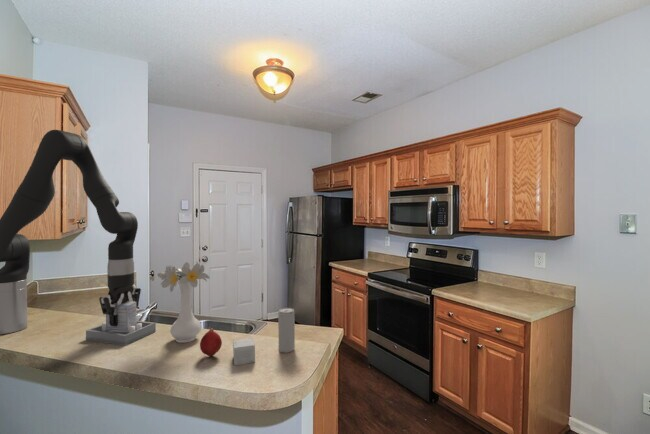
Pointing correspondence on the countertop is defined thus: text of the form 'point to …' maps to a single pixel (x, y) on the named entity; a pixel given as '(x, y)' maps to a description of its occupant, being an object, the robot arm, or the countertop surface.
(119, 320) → the medicine box
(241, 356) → the small box
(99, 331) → the tray
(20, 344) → the countertop surface
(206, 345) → the onion
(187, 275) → the flower vase
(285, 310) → the beverage can
